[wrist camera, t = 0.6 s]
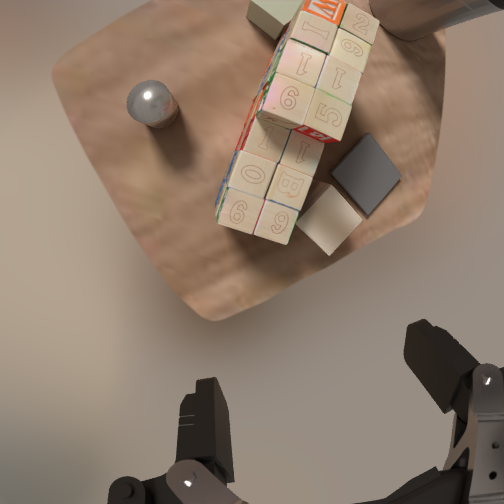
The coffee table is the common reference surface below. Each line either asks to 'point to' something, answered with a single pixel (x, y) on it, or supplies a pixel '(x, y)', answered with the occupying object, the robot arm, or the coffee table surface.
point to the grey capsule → (152, 104)
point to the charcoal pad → (366, 173)
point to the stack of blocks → (295, 117)
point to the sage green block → (272, 15)
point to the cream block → (326, 216)
